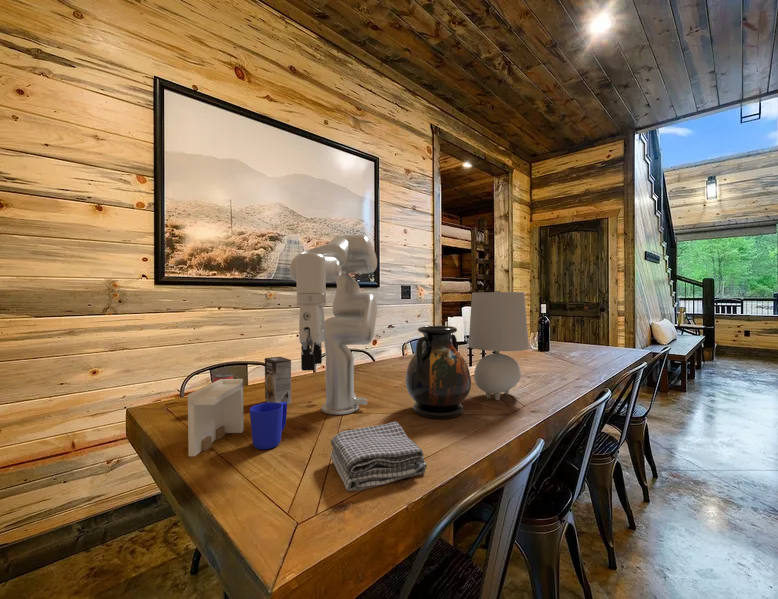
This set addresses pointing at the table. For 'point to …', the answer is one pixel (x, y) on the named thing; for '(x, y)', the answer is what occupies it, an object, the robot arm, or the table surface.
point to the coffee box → (278, 380)
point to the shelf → (214, 413)
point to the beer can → (223, 376)
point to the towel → (375, 456)
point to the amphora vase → (438, 374)
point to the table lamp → (498, 338)
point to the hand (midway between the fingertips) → (312, 366)
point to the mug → (267, 424)
